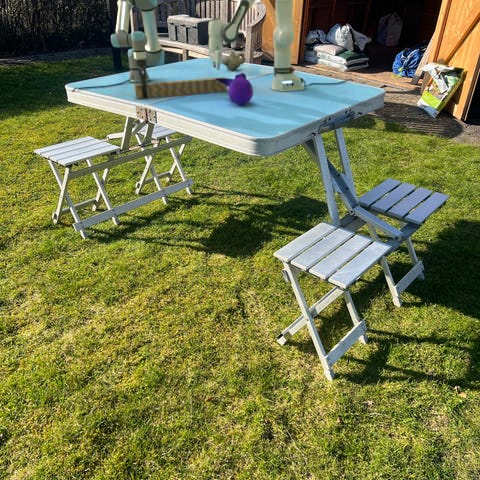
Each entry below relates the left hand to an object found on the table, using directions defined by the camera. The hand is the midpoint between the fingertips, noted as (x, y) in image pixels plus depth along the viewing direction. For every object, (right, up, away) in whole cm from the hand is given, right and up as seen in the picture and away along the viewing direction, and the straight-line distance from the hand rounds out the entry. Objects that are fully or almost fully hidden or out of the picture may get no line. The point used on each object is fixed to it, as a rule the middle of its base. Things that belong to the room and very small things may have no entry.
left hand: (144, 96), depth 292 cm
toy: (+60, -9, -16) cm, 62 cm away
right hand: (+46, +20, +5) cm, 51 cm away
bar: (+24, +4, +6) cm, 25 cm away
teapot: (+57, +48, +80) cm, 109 cm away
